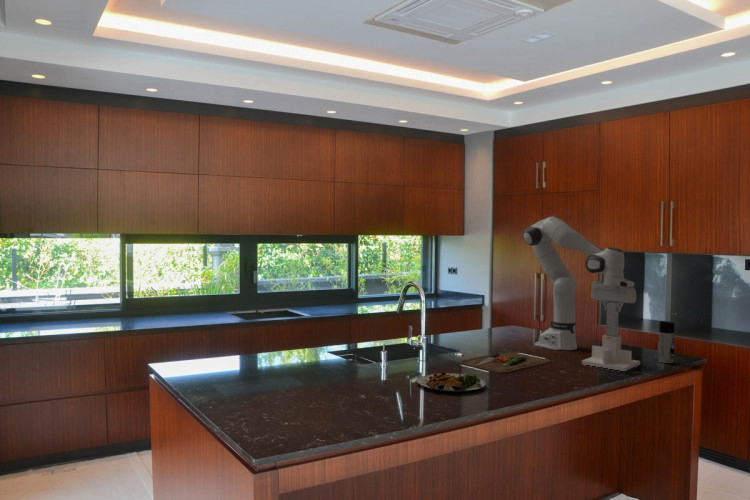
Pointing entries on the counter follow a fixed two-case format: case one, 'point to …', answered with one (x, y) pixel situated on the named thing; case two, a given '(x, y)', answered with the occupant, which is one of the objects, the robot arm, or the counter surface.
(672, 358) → the spray can
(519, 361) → the chopping board
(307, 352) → the counter surface
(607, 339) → the stand
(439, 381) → the plate of food
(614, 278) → the robot arm
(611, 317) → the column
